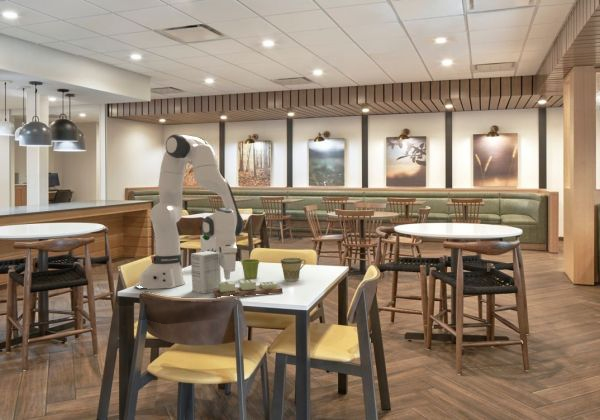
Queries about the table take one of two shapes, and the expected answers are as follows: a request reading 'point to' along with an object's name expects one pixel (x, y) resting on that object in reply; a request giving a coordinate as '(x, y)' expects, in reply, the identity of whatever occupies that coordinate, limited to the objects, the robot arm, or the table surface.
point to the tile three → (268, 285)
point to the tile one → (226, 286)
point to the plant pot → (250, 268)
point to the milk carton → (207, 243)
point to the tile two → (247, 284)
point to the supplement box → (205, 271)
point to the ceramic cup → (291, 268)
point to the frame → (247, 291)
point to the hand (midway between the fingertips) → (227, 278)
